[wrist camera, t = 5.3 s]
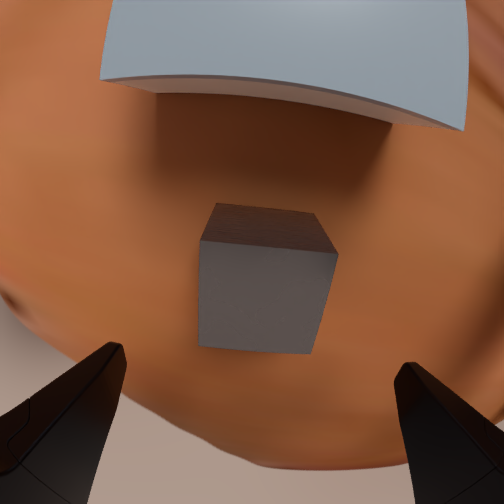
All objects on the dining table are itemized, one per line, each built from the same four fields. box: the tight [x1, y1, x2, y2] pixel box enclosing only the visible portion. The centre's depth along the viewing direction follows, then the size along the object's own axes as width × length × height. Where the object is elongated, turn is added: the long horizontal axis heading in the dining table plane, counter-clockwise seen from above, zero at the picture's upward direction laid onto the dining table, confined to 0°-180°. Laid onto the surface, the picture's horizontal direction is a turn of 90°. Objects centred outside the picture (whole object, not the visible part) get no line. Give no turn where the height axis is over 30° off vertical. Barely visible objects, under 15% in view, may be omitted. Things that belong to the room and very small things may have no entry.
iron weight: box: [198, 203, 338, 354], centre depth 14 cm, size 5×5×5 cm
